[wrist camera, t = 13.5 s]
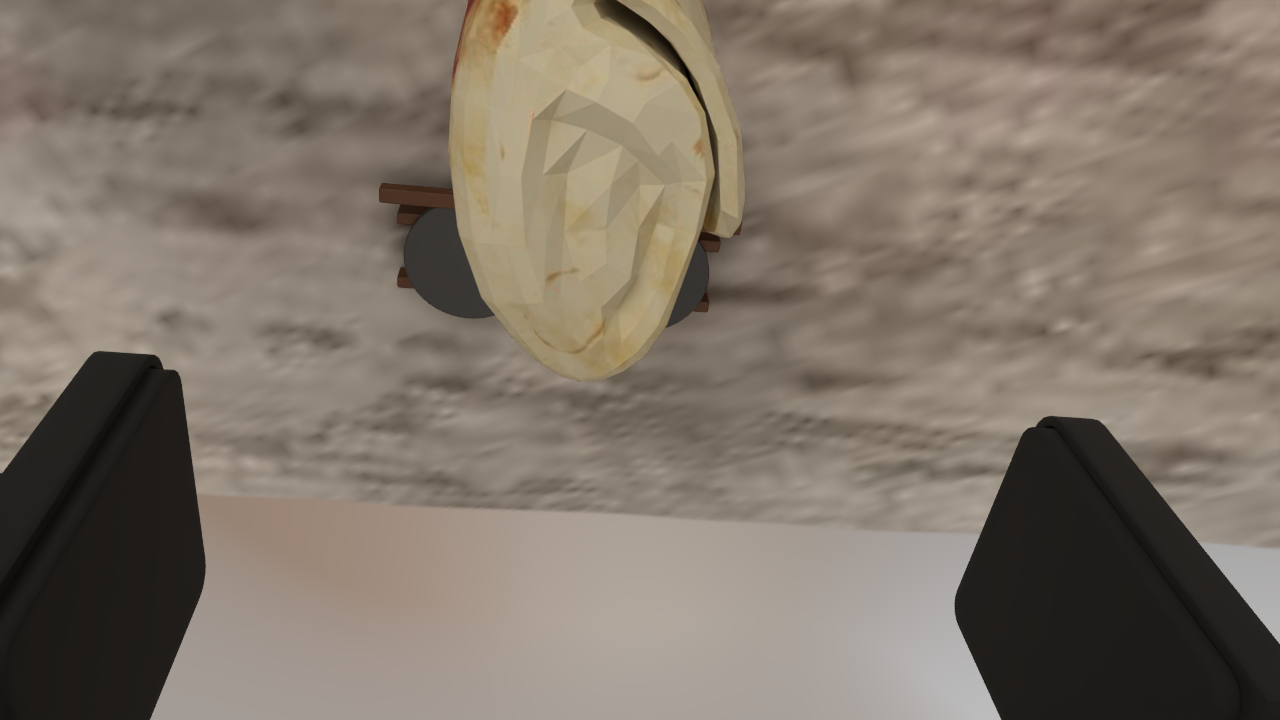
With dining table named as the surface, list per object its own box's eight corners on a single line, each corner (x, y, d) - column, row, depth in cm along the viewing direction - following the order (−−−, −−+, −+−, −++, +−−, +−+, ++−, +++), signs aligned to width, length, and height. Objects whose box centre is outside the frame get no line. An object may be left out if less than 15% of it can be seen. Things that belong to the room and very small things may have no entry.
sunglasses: (385, 296, 41) (380, 313, 40) (384, 174, 38) (379, 188, 37) (715, 322, 43) (719, 339, 42) (737, 207, 40) (742, 222, 39)
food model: (470, -164, 32) (366, -62, 15) (673, -171, 33) (791, -78, 16) (500, 126, 37) (448, 441, 21) (675, 118, 38) (765, 422, 21)
